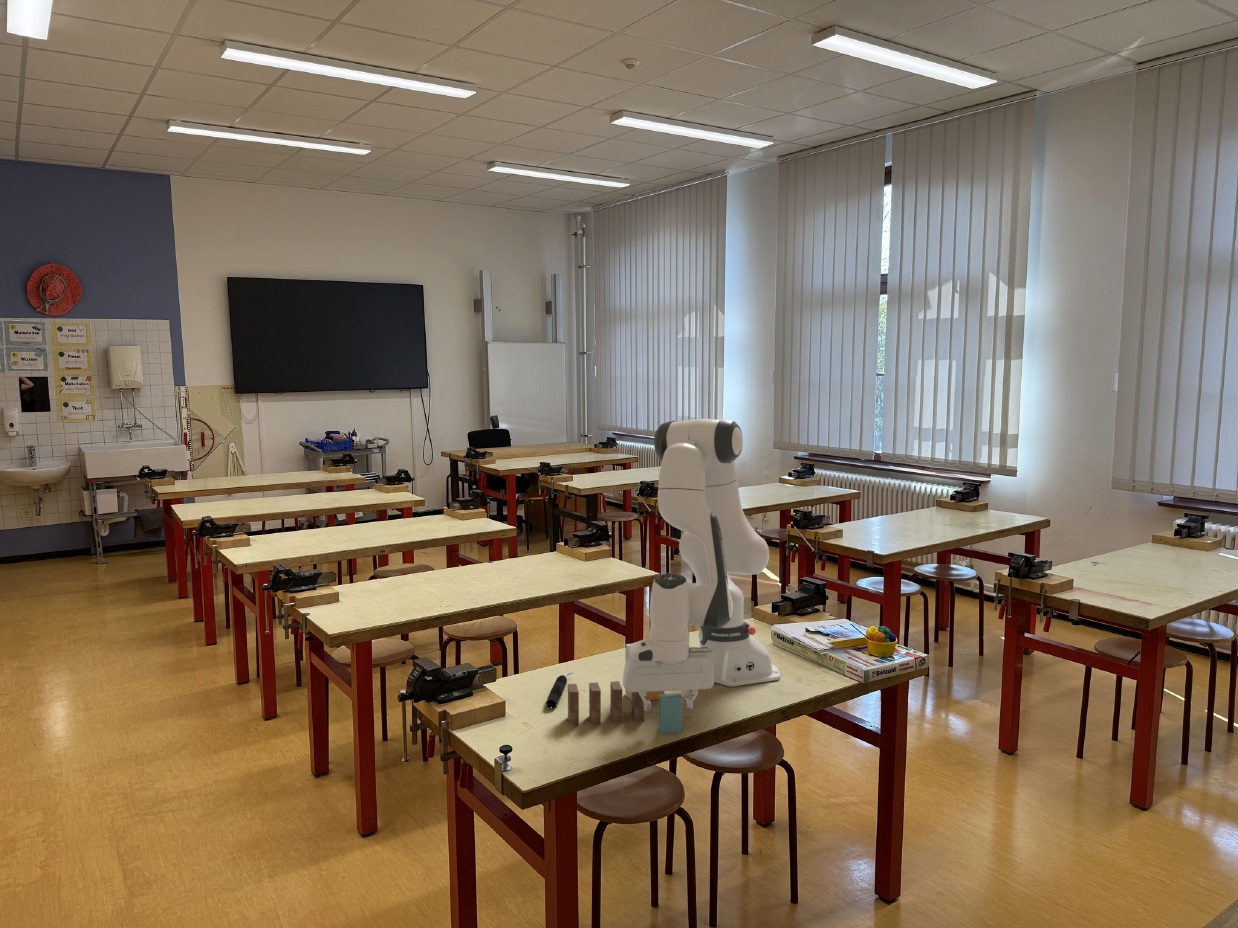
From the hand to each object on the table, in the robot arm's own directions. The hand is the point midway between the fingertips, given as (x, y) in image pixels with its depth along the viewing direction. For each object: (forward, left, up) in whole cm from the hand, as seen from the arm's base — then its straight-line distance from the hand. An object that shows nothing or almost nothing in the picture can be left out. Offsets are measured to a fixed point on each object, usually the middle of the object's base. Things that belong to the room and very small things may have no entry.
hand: (668, 708), depth 186 cm
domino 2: (+15, -8, -5) cm, 18 cm away
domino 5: (-1, 0, -5) cm, 5 cm away
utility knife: (+22, -26, -6) cm, 34 cm away
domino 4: (+5, -8, -5) cm, 11 cm away
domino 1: (+20, -8, -5) cm, 23 cm away
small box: (+1, -20, -5) cm, 21 cm away
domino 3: (+10, -8, -5) cm, 14 cm away
